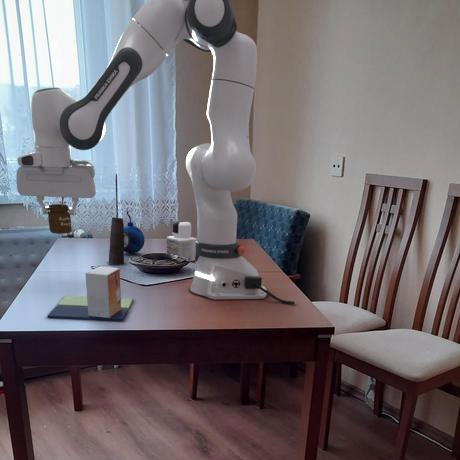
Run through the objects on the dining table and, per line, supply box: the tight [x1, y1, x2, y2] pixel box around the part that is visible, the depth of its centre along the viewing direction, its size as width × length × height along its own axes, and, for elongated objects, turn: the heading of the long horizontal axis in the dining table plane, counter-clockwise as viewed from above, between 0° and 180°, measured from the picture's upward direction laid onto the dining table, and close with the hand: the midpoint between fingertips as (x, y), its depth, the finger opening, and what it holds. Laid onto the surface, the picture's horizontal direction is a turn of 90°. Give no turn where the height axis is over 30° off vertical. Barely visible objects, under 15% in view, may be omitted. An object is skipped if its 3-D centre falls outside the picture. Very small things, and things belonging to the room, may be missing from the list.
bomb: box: [124, 210, 146, 254], centre depth 199 cm, size 10×11×15 cm
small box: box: [85, 265, 122, 318], centre depth 134 cm, size 8×6×10 cm
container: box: [166, 220, 197, 262], centre depth 195 cm, size 8×8×13 cm
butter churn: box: [108, 173, 125, 266], centre depth 180 cm, size 9×10×28 cm
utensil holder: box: [47, 190, 73, 235], centre depth 150 cm, size 6×6×12 cm
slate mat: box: [47, 305, 129, 322], centre depth 137 cm, size 18×8×1 cm, turn 91°
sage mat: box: [57, 295, 134, 311], centre depth 145 cm, size 18×8×1 cm, turn 91°
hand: (59, 214), depth 151 cm, fingers closed on utensil holder, 6 cm apart
